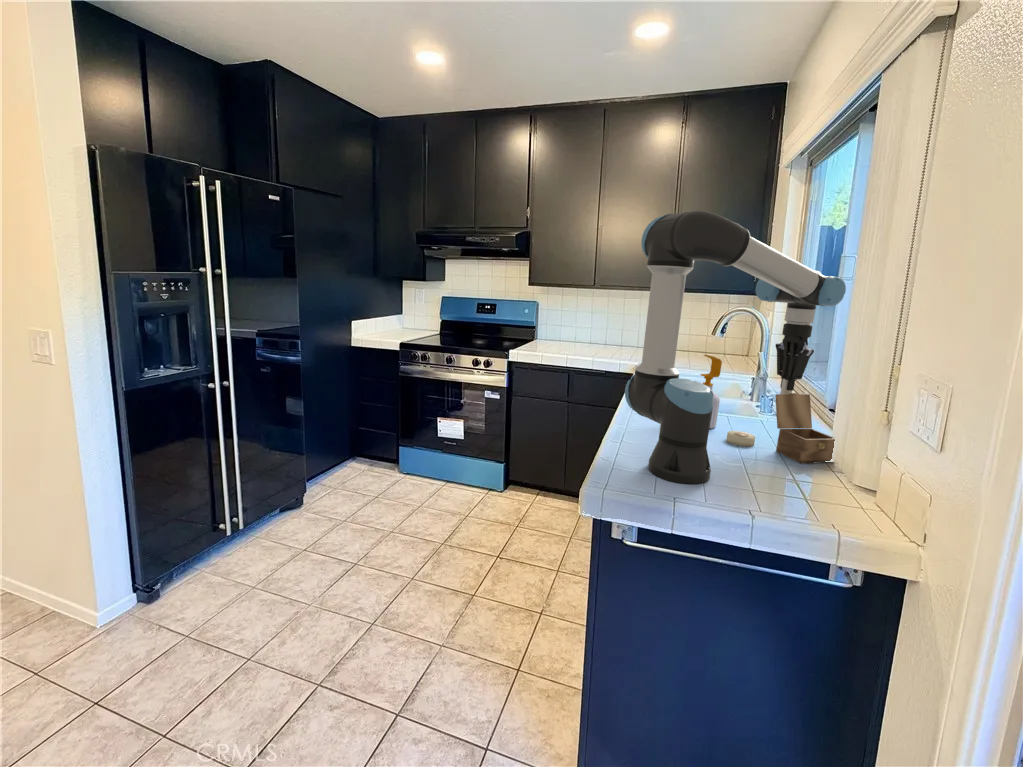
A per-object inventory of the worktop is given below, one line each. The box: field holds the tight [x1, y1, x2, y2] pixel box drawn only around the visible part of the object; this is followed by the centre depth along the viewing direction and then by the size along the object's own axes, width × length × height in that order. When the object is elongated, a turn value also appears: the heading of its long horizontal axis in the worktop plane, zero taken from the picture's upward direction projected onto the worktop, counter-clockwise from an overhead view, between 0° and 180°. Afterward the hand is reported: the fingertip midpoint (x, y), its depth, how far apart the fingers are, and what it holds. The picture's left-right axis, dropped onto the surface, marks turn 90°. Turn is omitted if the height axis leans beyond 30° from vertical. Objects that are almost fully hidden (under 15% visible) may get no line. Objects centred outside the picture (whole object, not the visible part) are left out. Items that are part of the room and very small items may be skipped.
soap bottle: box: [700, 354, 723, 429], centre depth 170 cm, size 9×9×25 cm
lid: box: [775, 392, 813, 430], centre depth 150 cm, size 11×10×1 cm
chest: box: [775, 428, 835, 464], centre depth 145 cm, size 11×10×7 cm
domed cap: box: [726, 430, 756, 448], centre depth 156 cm, size 8×8×3 cm
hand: (784, 399), depth 153 cm, fingers closed
